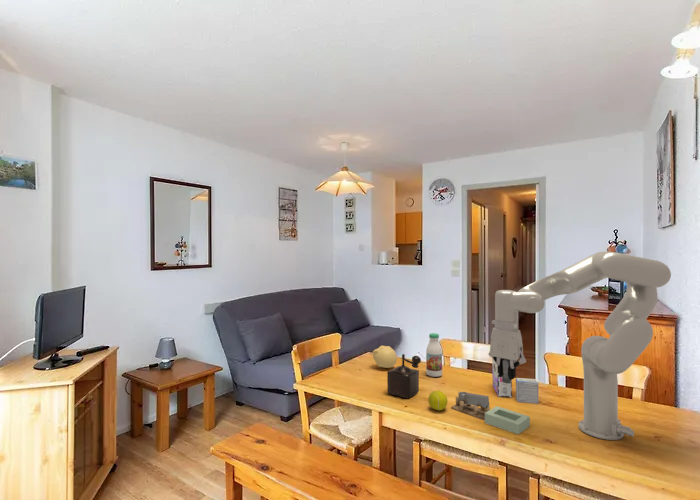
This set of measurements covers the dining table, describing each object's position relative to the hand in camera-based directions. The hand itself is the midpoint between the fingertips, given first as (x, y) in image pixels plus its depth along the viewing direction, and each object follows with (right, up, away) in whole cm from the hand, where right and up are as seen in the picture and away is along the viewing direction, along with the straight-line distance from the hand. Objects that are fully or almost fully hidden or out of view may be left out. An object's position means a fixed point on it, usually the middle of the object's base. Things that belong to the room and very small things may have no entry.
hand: (506, 377), depth 133 cm
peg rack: (-9, -17, +11) cm, 22 cm away
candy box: (+11, -17, +31) cm, 37 cm away
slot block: (0, -17, 0) cm, 17 cm away
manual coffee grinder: (-30, -17, +29) cm, 45 cm away
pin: (0, -2, 0) cm, 2 cm away
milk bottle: (-14, -17, +54) cm, 58 cm away
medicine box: (+17, -17, +20) cm, 31 cm away
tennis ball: (-21, -17, +13) cm, 30 cm away
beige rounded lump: (-37, -17, +67) cm, 78 cm away
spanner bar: (-8, -14, +10) cm, 19 cm away
